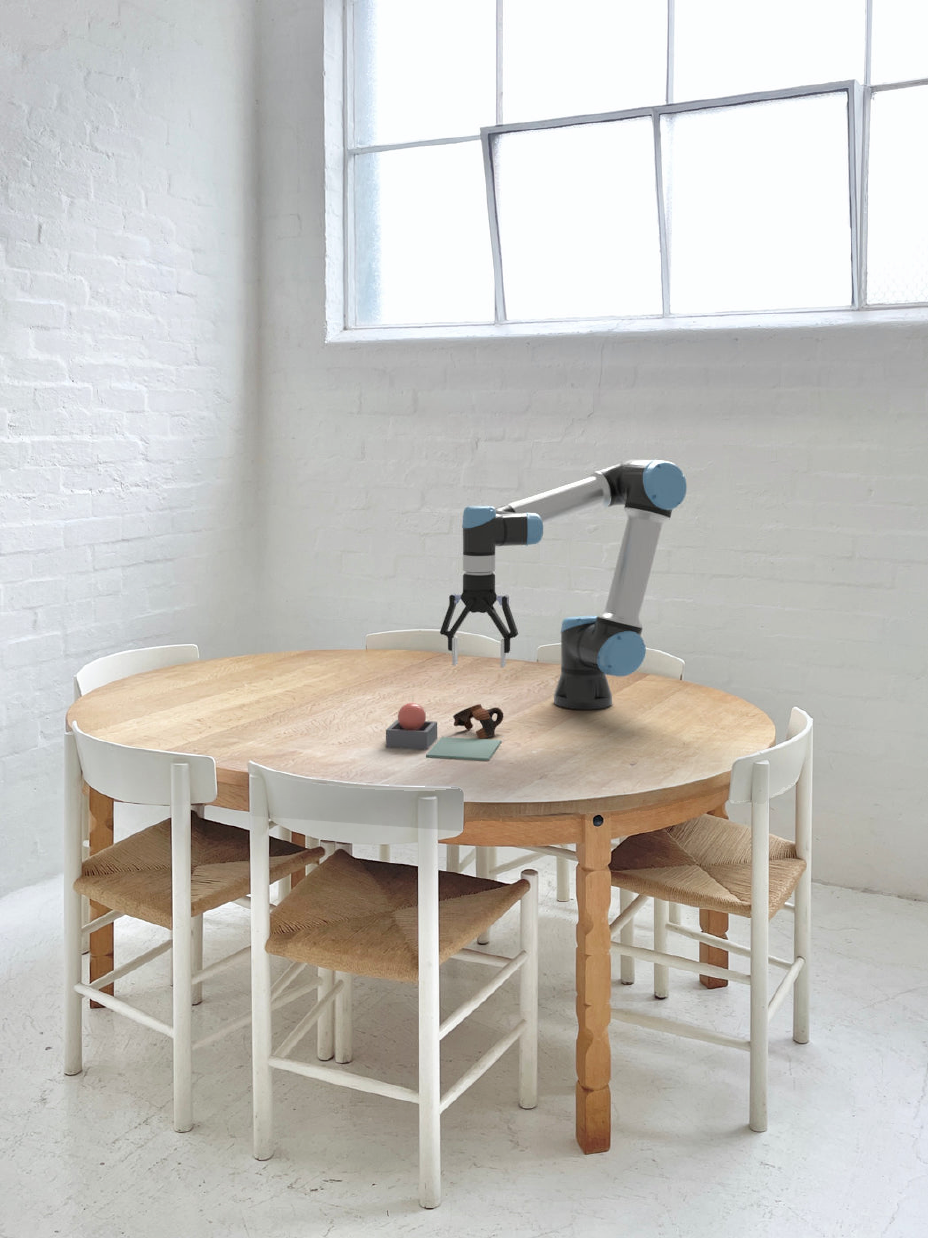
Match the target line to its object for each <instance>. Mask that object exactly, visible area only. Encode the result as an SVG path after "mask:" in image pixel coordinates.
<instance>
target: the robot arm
mask: <svg viewBox="0 0 928 1238" xmlns="http://www.w3.org/2000/svg"><path fill="white" fill-rule="evenodd" d="M687 486H688V485H687V481H686V477H685V475H684V473H683V471H682V469H680V467H679V466H678V465H676V464H675V463H673V462H670V461H667V460H666V461H665V460H664V459H663V460H661V459H639V458H638V459H637V458H636V459H635V458H634V459H627V460H624V461H621V462H619V463H615V464H613V465H610V466H607V467H604V468H602V469H599V470H596V471H593V472H591V474H590V476H589V477H587V478H584V479H582V480H579V481H576V482H573V483H570V484H566V485H563V486H560V487H557V488H553V489H551V490H548V491H545V492H542V493H539V494H535V495H533V496H530V497H526V498H523V499H521V500H517V501H513V502H511V503H508V504H506V505H502V506H498V507H495V506H492V505H469V506H466V507H465V508H464V509H463V513H462V525H461V527H462V571H463V572H464V573H463V574H462V593H461V594H456V593H452V594H450V595H448V596H449V597H448V599H449V600H448V601H449V603H448V607H447V611H446V614H445V616H444V619H443V622H442V625H441V628H440V631H439V633H440V635H442V636H446V638H447V649H448V651H450V652H451V657H452V658H451V661H452V662H451V663H452V664H451V666H457V665H458V664H459V662H458V661H459V653H458V652H459V636H457V635H456V633H457V632H458V630H459V628H460V627H461V625H462V624H463V622H464V620H466V618H467V616H468V615H469V614H470V612H471V613H473V614H474V613H481V614H485V613H487V615H488V616H489V617H490V618H491V621H492V622H493V624H494V625H495V626H496V628H497V629H498V631H499V633H500V635H501V637H503V638H501V639H500V668H503V669H504V668H505V667H506V665H507V658H506V657H507V654H509V653H510V651H511V639H513V638H516V637H517V636H518V635H519V632H518V631H519V630H518V628H517V625H516V622H515V619H514V616H513V614H512V610H511V607H510V597H509V595H507V594H505V595H497V593H496V575H495V573H494V572H496V547H504V546H506V547H509V546H512V547H513V546H526V547H527V546H529V545H530V546H532V545H536V544H537V545H538V544H539V543H540V542H541V540H542V539H543V536H544V525H546V524H550V523H552V522H554V521H558V520H560V519H561V520H562V519H564V518H566V517H570V516H572V515H576V514H579V513H581V512H585V511H587V510H591V509H594V508H596V507H597V508H598V507H599V508H601V509H607V508H610V507H613V506H624V507H623V510H624V512H625V513H626V516H627V521H626V525H625V529H624V533H623V536H622V541H621V546H620V547H619V548H620V549H619V552H618V556H617V557H618V558H617V560H616V565H615V569H614V573H613V577H612V580H611V585H610V588H609V592H608V597H607V601H606V603H605V604H606V605H605V609H604V610H603V611H602V612H601V613H599V614H598V615H582V616H581V615H580V616H570V617H566V618H564V619H563V620H562V623H561V629H560V634H561V635H560V636H561V639H560V642H561V644H560V645H561V646H560V649H561V651H560V652H561V653H560V657H561V658H560V667H561V668H560V675H559V679H558V682H557V685H556V687H555V690H554V694H553V704H555V705H556V706H557V707H561V708H566V709H572V710H589V711H590V710H599V709H600V710H601V709H605V708H609V707H610V706H612V704H613V694H612V691H611V688H610V685H609V684H610V683H609V681H608V677H607V676H612V677H620V678H621V677H626V676H629V675H631V674H633V673H634V672H636V671H637V670H638V669H639V668H640V667H641V666H642V664H643V662H644V659H645V658H646V653H647V652H646V651H647V650H646V648H647V647H646V644H645V643H644V641H645V640H644V639H643V638H642V636H641V635H642V632H643V628H644V626H643V624H642V623H641V621H640V615H641V611H642V608H643V603H644V598H645V594H646V592H647V586H648V583H649V578H650V576H651V575H650V574H651V571H652V568H653V567H652V566H653V563H654V559H655V554H656V550H657V546H658V543H659V538H660V536H661V535H660V534H661V532H662V531H661V530H662V527H663V525H664V524H665V523H667V522H669V521H670V519H671V516H672V513H673V510H674V509H676V508H678V506H679V505H681V504H682V503H683V501H684V500H685V497H686V495H687V494H686V493H687V488H688V487H687ZM460 600H461V601H462V603H463V604H464V608H463V609H462V611H461V613H460V615H459V616H458V617H457V620H455V622H454V623H453V625H452V627H451V628H450V629H449V627H450V624H451V622H452V618H453V615H454V612H455V609H456V607H457V604H459V602H460ZM496 602H498V604H499V605H500V606H501V609H502V612H503V615H504V618H505V621H506V623H507V626H506V625H505V624H504V622H503V621H502V619H501V617H500V616H499V614H498V612H497V610H496V608H495V607H494V605H495V603H496ZM507 627H508V628H507Z"/></svg>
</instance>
